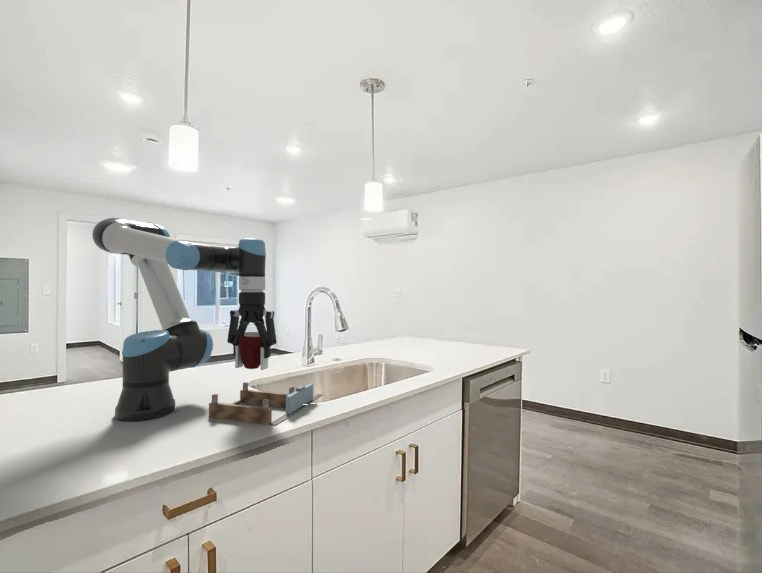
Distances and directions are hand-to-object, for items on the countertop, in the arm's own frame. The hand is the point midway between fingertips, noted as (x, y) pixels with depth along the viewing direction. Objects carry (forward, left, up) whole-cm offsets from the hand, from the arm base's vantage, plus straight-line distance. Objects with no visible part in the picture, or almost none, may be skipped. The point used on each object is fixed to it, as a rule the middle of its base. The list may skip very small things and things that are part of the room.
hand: (251, 368), depth 115 cm
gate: (+12, +8, -13) cm, 19 cm away
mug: (0, 0, 0) cm, 0 cm away
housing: (+2, +7, -13) cm, 15 cm away
